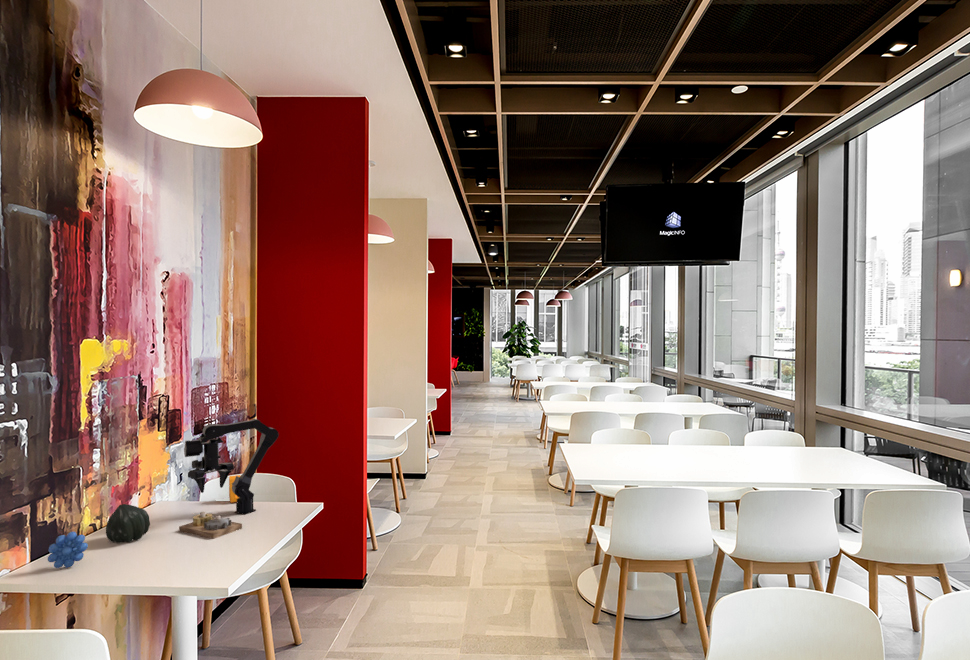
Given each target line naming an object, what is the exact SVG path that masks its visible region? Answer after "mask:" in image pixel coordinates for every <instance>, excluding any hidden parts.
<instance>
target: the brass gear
mask: <svg viewBox="0 0 970 660" xmlns="http://www.w3.org/2000/svg"><path fill="white" fill-rule="evenodd" d="M212 518H213V514H212V513H205V517H200V514H196V515H194V516H193V517H192V522H193V526H204V523H205V522H208V521H209V520H212Z"/></svg>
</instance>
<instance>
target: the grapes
mask: <svg viewBox="0 0 970 660" xmlns="http://www.w3.org/2000/svg"><path fill="white" fill-rule="evenodd" d="M77 534H78V533H77V532H76V531H70V532H68V533H67V534H66V535H65V534H62V535H58V536H57V537H56V539H55V543H52V544H50V545H49V547H48V552H49V553H50V554H49V555H48V556H47V562H48V563H53V567H54V568H55V569H60V568H62V567H64V568H67V569H68V567H70V568H71V567H72V566H74V564H75V562H80V561H81V560H82V559H83V558H84V555H85V554H84V552H85V551H86V550H87V549H88V547H89V546H88V544H89V543H87V542H85V540H86V536H85V535H84V534H79V535H77Z"/></svg>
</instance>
